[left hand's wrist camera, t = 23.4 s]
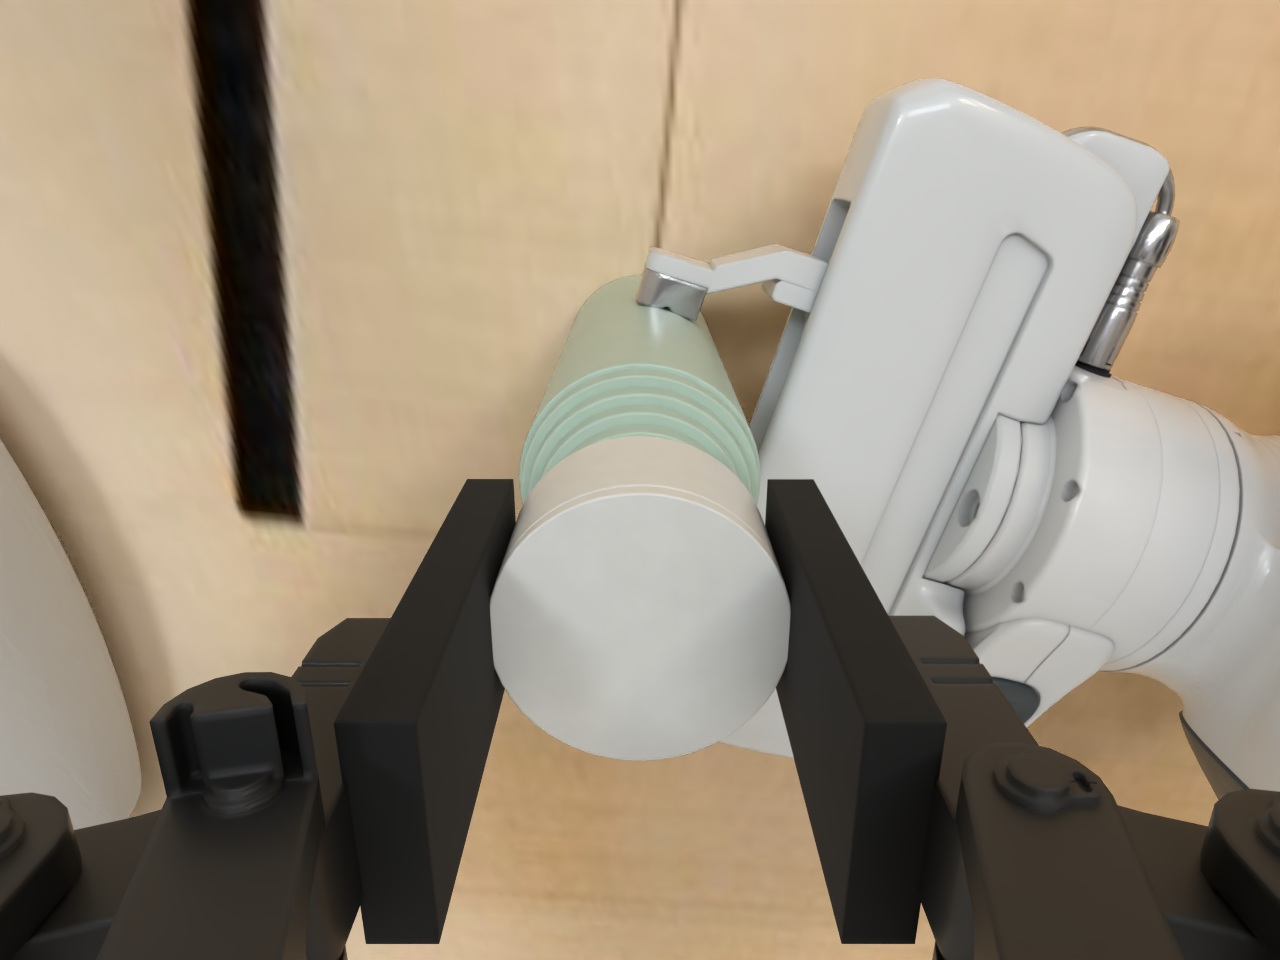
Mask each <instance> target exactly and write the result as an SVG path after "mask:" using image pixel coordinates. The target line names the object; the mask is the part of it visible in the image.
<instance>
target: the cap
mask: <svg viewBox="0 0 1280 960" xmlns="http://www.w3.org/2000/svg"><path fill="white" fill-rule="evenodd" d="M790 614H791V605H790V599H789V596H788V593H787V589H786V586H785V583H784V580H783V577H782V574H781V571H780V568H779V565H778V562H777V560H776V557H775V554H774V551H773V548H772V545H771V542H770V539H769V536H768V533H767V531H766V528H765V525H764V522H763V519H762V516H761V513H760V511H759V509H758V507H757V505H756V503H755V501H754V499H753V497H752V496H751V494H750V493H749V491H748V490H747V488H746V487H745V485H744V484H743V483H742V482H741V481H740V480H739V478H738V477H737V476H736V475H735V474H734V473H733V472H732V471H731V470H729V469H728V468H727V467H726V466H725V465H724V464H723V463H721V462H720V461H718V460H717V459H715V458H714V457H712V456H711V455H709V454H708V453H706V452H703V451H701V450H699V449H697V448H695V447H693V446H691V445H688V444H685V443H682V442H679V441H675V440H670V439H665V438H660V437H649V436H630V437H620V438H614V439H609V440H605V441H601V442H598V443H595V444H592V445H589V446H587V447H585V448H583V449H580V450H578V451H576V452H574V453H572V454H571V455H569V456H568V457H566V458H565V459H563V460H561V461H560V462H559V463H557V464H556V465H555V466H554V467H553V468H551V469H550V470H549V471H548V472H547V473H546V474H545V475H544V476H543V477H542V478H541V479H540V480H539V482H538V483H537V484H536V485H535V487H534V488H533V489H532V491H531V492H530V494H529V495H528V497H527V498H526V500H525V503H524V505H523V507H522V509H521V511H520V513H519V516H518V519H517V522H516V525H515V527H514V530H513V533H512V536H511V539H510V542H509V545H508V548H507V551H506V553H505V556H504V559H503V562H502V565H501V568H500V571H499V574H498V577H497V579H496V582H495V585H494V589H493V592H492V595H491V598H490V618H491V633H492V647H493V661H494V668H495V670H496V672H497V674H498V676H499V679H500V681H501V683H502V685H503V686H504V688H505V690H506V691H507V693H508V694H509V696H510V698H511V699H512V700H513V702H514V703H515V704H516V705H517V706H518V708H519V709H520V710H521V711H522V712H523V713H524V714H525V715H526V716H527V717H528V718H529V719H530V720H531V721H532V722H533V723H534V724H535V725H537V726H538V727H539V728H541V729H542V730H544V731H545V732H546V733H548V734H549V735H551V736H552V737H554V738H556V739H558V740H560V741H561V742H563V743H565V744H567V745H569V746H572V747H574V748H577V749H579V750H581V751H584V752H587V753H591V754H594V755H598V756H601V757H607V758H613V759H619V760H632V761H647V760H661V759H667V758H673V757H678V756H682V755H685V754H689V753H693V752H696V751H698V750H701V749H703V748H706V747H708V746H711V745H713V744H715V743H716V742H718V741H720V740H722V739H724V738H726V737H728V736H729V735H730V734H732V733H733V732H735V731H736V730H738V729H739V728H740V727H742V726H743V725H744V724H745V723H746V722H747V721H749V720H750V719H751V718H752V717H753V716H754V715H755V714H756V713H757V712H758V711H759V710H760V708H761V707H762V706H763V705H764V704H765V703H766V701H767V700H768V699H769V697H770V696H771V694H772V692H773V691H774V689H775V688H776V686H777V684H778V682H779V680H780V678H781V676H782V674H783V672H784V670H785V666H786V663H787V657H788V644H789V630H790Z"/></svg>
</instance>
